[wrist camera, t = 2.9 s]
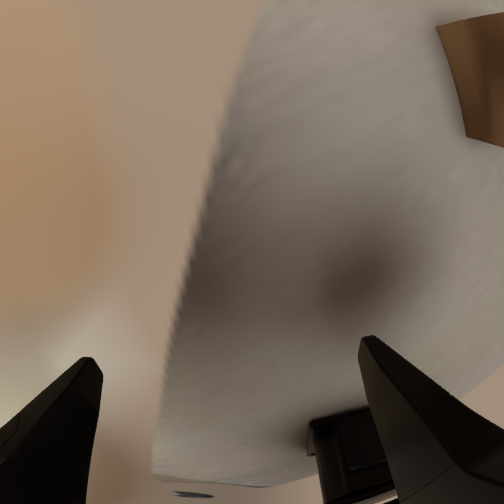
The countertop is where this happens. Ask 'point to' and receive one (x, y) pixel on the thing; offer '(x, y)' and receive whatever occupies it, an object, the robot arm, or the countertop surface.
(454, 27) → the walnut cube
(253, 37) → the countertop surface
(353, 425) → the robot arm
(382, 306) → the countertop surface
